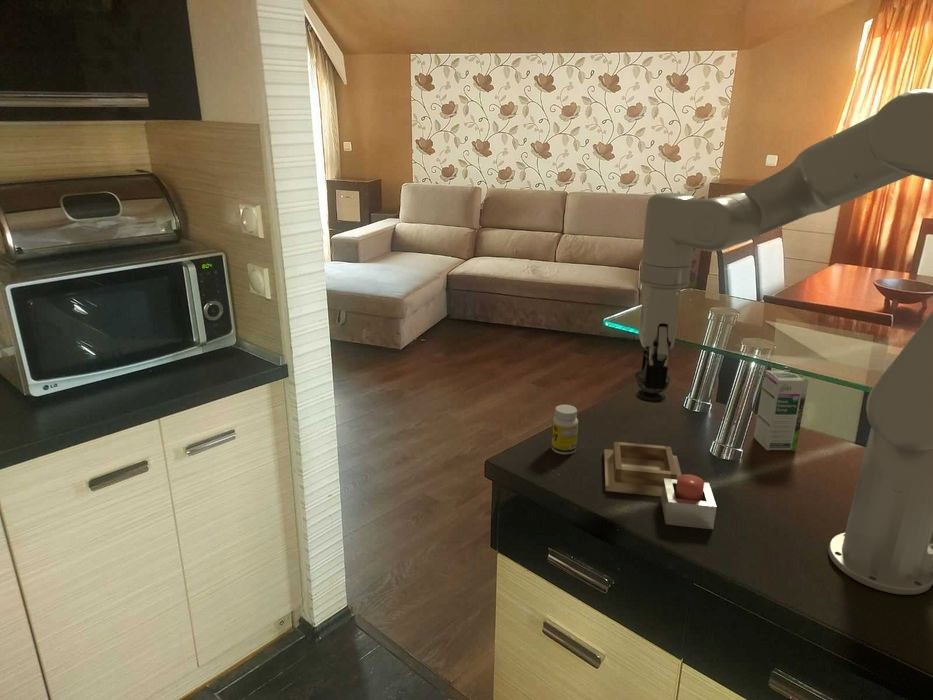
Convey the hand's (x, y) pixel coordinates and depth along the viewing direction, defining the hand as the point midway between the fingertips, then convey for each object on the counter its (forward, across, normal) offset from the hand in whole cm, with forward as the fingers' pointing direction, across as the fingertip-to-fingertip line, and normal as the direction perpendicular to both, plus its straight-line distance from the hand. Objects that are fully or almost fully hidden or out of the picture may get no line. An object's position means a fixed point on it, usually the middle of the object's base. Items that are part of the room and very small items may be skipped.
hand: (653, 379), depth 108 cm
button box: (+18, +11, +6) cm, 22 cm away
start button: (+15, +11, +6) cm, 20 cm away
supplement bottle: (+18, -7, -14) cm, 24 cm away
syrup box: (+18, -17, +26) cm, 36 cm away
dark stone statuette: (+3, 0, 0) cm, 3 cm away
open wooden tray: (+18, 0, 0) cm, 18 cm away
